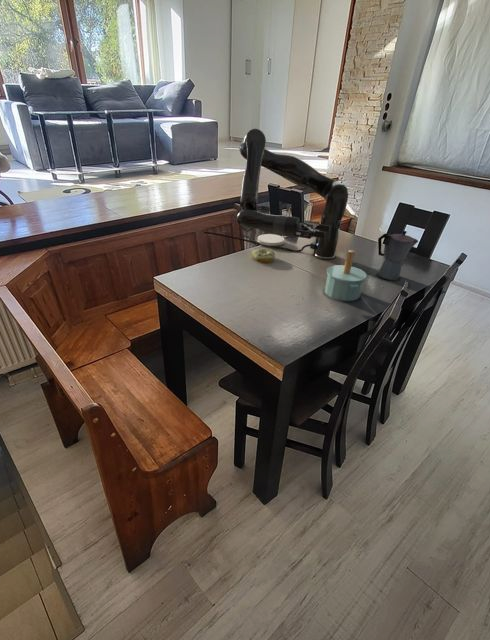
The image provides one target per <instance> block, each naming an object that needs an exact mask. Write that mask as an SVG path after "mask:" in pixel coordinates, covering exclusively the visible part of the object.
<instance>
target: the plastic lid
mask: <svg viewBox="0 0 490 640" xmlns="http://www.w3.org/2000/svg"><path fill="white" fill-rule="evenodd" d="M256 242H259V243H260V244H263V245H268V246H272V245H273V246H277V247H278V246H281V245H283V244H284V243H285V238H284V236H281V235H276V234H272V233H265V234H260V235H258V236H257V240H256ZM263 245H262V246H263ZM268 246H267V247H268Z"/></svg>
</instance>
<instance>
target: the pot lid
mask: <svg viewBox="0 0 490 640" xmlns="http://www.w3.org/2000/svg"><path fill="white" fill-rule="evenodd" d="M355 253H356V251H355V250H353V249H347V252H346V257H345V261H344V264H338V265H332V266H329V267H327V268H326V274H327V276H328V275H329V276H330V277H332V278H334V279H336V280H340V281H344V282H360V281H363V280H364V281H365V280H366V279H367V273H366V272H365V271H364V270H363V269H360V268H358V267H355V266H353V262H354V259H355Z"/></svg>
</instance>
